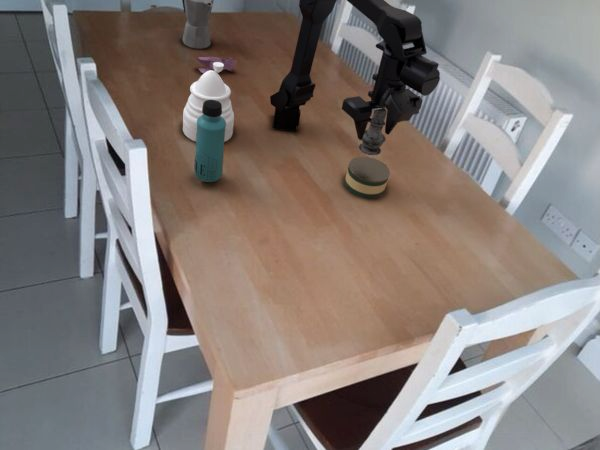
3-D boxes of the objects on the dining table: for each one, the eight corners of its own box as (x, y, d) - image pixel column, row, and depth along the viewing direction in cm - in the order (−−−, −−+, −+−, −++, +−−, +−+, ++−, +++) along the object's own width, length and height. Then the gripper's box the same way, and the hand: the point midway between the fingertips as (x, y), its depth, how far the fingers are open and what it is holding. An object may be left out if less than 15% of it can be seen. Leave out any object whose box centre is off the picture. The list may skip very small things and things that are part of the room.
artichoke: (200, 56, 164) (238, 57, 170) (196, 53, 167) (233, 54, 173) (199, 74, 167) (237, 74, 172) (195, 70, 170) (232, 70, 175)
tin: (345, 196, 134) (350, 178, 130) (342, 171, 141) (347, 154, 138) (387, 200, 135) (393, 183, 132) (381, 176, 143) (387, 159, 139)
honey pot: (211, 112, 152) (216, 50, 141) (242, 135, 146) (249, 71, 135) (172, 125, 144) (173, 60, 133) (203, 149, 138) (207, 83, 127)
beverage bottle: (226, 176, 132) (233, 101, 119) (214, 191, 127) (220, 114, 114) (201, 167, 133) (206, 92, 120) (188, 182, 128) (191, 104, 115)
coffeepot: (220, 48, 183) (224, -7, 172) (196, 53, 178) (199, -4, 166) (192, 30, 191) (194, -25, 179) (168, 34, 185) (169, -22, 173)
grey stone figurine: (383, 157, 131) (397, 112, 123) (359, 154, 130) (371, 109, 123) (379, 143, 136) (392, 99, 128) (356, 141, 135) (367, 96, 127)
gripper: (379, 98, 111) (361, 162, 121) (446, 87, 120) (425, 148, 130) (347, 72, 118) (333, 136, 128) (413, 64, 127) (395, 123, 137)
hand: (373, 136), depth 131 cm, fingers closed on grey stone figurine, 8 cm apart
